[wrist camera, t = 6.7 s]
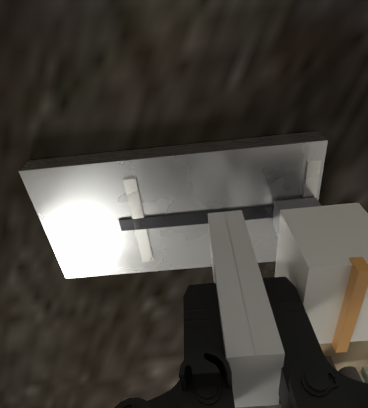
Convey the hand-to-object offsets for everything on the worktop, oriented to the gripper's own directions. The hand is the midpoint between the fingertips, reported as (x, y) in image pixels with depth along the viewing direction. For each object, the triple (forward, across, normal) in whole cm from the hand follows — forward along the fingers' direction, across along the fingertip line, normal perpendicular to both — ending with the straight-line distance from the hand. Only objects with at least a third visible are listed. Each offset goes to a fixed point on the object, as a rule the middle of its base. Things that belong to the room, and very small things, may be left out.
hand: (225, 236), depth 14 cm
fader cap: (+2, +4, 0) cm, 4 cm away
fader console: (+3, -2, 0) cm, 4 cm away
